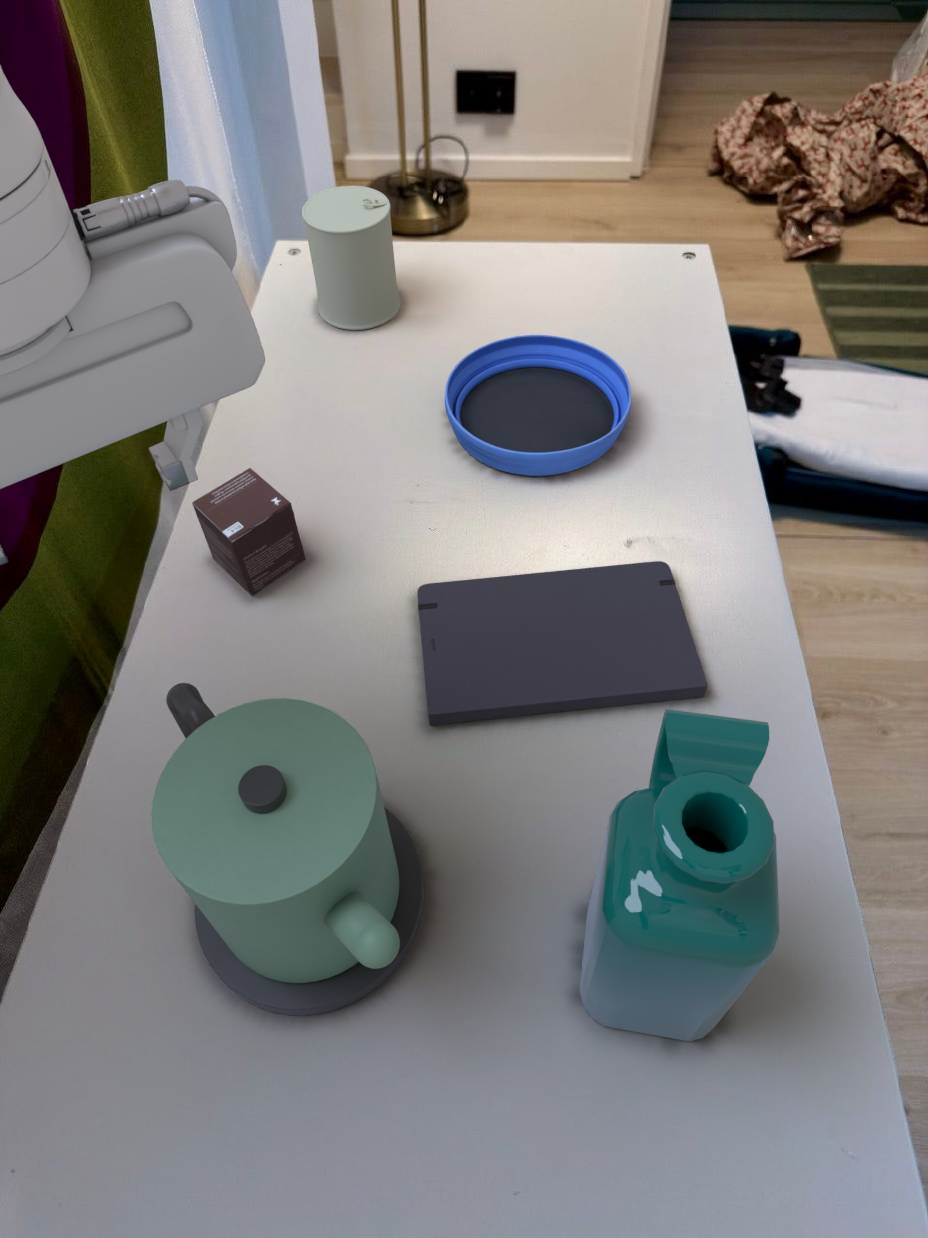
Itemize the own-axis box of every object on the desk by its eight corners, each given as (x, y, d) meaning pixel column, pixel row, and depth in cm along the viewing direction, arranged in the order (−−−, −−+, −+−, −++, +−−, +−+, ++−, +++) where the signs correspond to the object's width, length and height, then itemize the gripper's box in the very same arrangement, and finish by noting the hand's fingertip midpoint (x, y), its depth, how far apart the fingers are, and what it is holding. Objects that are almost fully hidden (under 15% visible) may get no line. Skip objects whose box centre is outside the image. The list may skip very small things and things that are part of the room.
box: (268, 525, 81) (251, 465, 75) (308, 561, 79) (293, 502, 73) (212, 560, 79) (189, 501, 73) (251, 599, 76) (230, 541, 70)
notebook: (429, 725, 68) (704, 696, 69) (427, 715, 67) (708, 685, 68) (417, 596, 76) (665, 571, 77) (416, 584, 75) (668, 559, 75)
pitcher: (716, 1048, 54) (821, 929, 37) (576, 1023, 55) (612, 895, 38) (717, 891, 60) (808, 723, 42) (590, 871, 61) (628, 699, 43)
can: (406, 323, 99) (397, 219, 90) (324, 336, 98) (305, 232, 89) (392, 277, 105) (382, 175, 95) (314, 289, 104) (295, 186, 94)
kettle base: (201, 1038, 55) (195, 1033, 54) (199, 816, 64) (194, 807, 63) (441, 989, 57) (440, 983, 55) (406, 778, 66) (404, 769, 64)
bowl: (655, 461, 85) (661, 433, 82) (471, 499, 83) (470, 470, 80) (592, 349, 95) (595, 320, 93) (427, 379, 93) (425, 350, 90)
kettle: (482, 950, 56) (479, 857, 44) (327, 1089, 52) (276, 1028, 40) (290, 727, 66) (245, 602, 55) (146, 827, 62) (63, 715, 50)
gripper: (185, 135, 37) (255, 402, 48) (-375, 304, 30) (-146, 568, 41) (251, 199, 34) (310, 469, 45) (-360, 403, 27) (-115, 661, 38)
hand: (87, 518), depth 43 cm, fingers open, 8 cm apart
